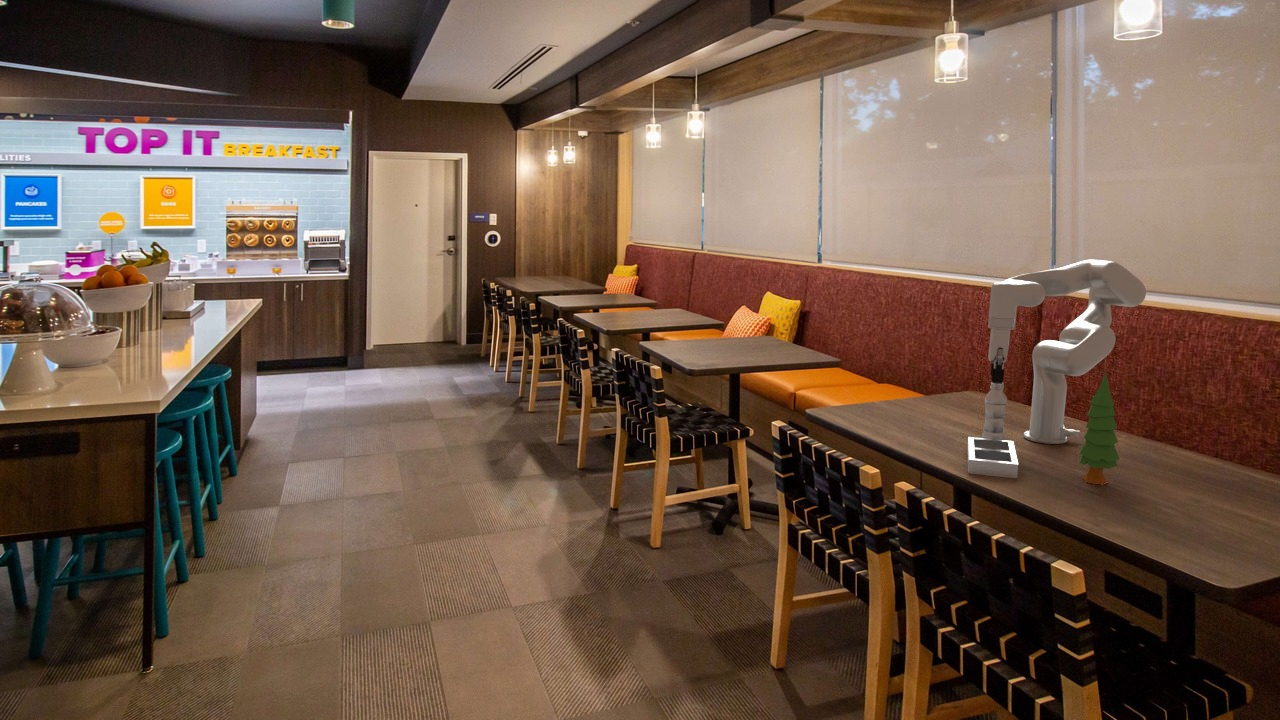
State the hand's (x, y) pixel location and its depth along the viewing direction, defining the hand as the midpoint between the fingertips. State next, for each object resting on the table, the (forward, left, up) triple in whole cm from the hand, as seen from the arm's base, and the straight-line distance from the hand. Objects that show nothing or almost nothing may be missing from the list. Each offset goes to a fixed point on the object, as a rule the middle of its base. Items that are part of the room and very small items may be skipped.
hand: (996, 379), depth 254 cm
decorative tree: (-25, +27, -21) cm, 43 cm away
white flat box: (+1, +19, -21) cm, 28 cm away
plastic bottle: (0, 0, -21) cm, 21 cm away
